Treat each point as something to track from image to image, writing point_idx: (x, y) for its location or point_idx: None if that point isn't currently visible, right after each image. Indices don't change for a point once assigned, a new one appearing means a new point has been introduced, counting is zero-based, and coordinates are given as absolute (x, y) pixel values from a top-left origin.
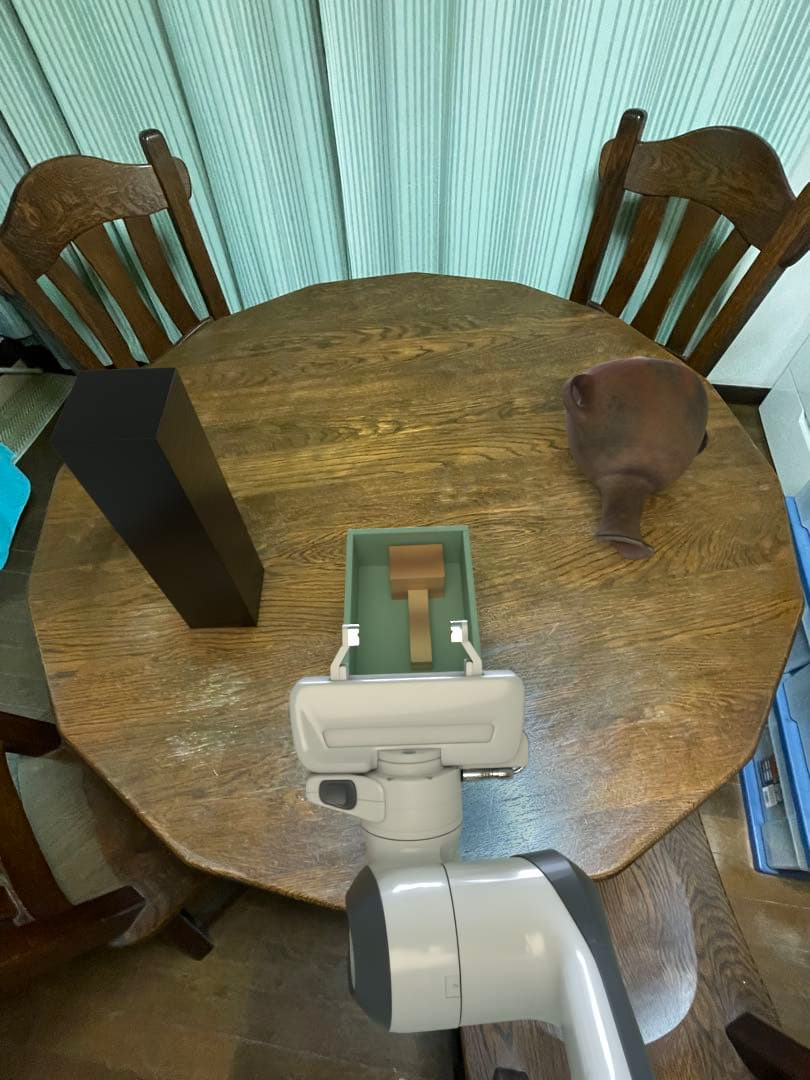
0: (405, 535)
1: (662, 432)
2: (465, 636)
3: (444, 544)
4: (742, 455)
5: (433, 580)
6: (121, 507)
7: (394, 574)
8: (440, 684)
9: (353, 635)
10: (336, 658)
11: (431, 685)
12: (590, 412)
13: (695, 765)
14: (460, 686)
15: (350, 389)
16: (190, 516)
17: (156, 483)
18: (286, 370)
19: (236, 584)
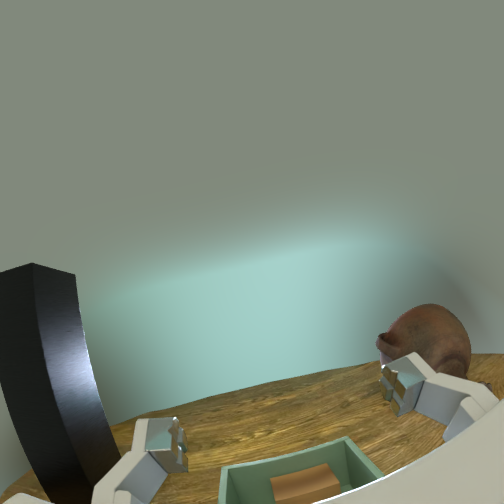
0: (285, 462)
1: (447, 326)
2: (426, 367)
3: (329, 464)
4: (484, 356)
5: (327, 491)
6: (4, 357)
7: (280, 496)
8: (437, 463)
9: (159, 431)
10: (112, 473)
11: (413, 479)
12: (400, 344)
13: None
14: (486, 434)
15: (232, 423)
16: (43, 374)
17: (24, 323)
18: (190, 422)
19: None
